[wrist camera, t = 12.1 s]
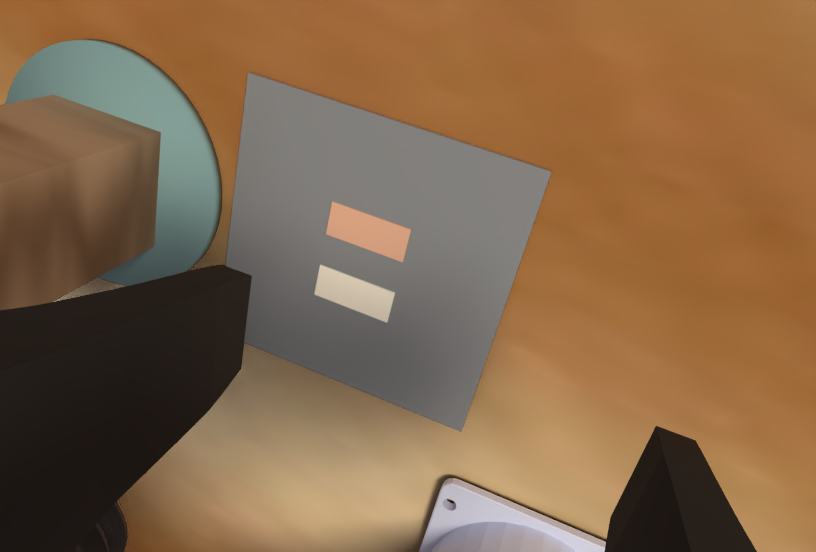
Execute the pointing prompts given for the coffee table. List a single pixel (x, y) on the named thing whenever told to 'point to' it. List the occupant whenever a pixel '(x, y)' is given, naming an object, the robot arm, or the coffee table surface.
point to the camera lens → (106, 533)
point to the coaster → (151, 107)
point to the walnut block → (71, 196)
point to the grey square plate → (376, 246)
